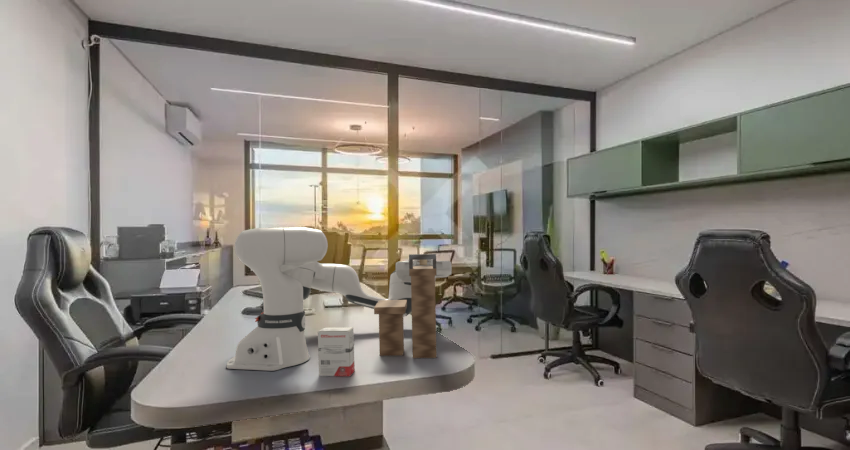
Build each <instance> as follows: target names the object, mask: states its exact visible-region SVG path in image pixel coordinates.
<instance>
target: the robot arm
mask: <svg viewBox="0 0 850 450" xmlns="http://www.w3.org/2000/svg"><path fill="white" fill-rule="evenodd" d="M235 239H236V240H235V241H234V252H235V256H236V257H237V258H238V260H239V261H240V262H241V264H243V265H245V266H246V267H248V268H249V269H250V270H251V271H253V273H254V275H255V276H256V277H257V279H258V281H259V283H260V286H261V290H262V292H261V293H262V299H263V303H262V304H263V312H261V313H260V314H259V315H257V316H256V317H255V318H254V319H255V321H254V323H257V326H256V327H255V328H253V330H251V331H250V332H249V333H248V334H246V335H245V336H244V337H243V338H242V339H240V341H238V344H237V346H236V350H235V356H233V357H232V358H230V359H229V360H227V361H226V368H227V369H229V370H230V369H233V370H253V371H272V372H273V371H279V370H281V369H284V368H288V367H293V366H297V365H301V364H303V363H305V362H307V361H309V360H310V358H311V357H310V354H309V350H308V345H307V341H306V333H305V331H306V325H307V324H306V321H307V320H306V312H305V309H304V300H306V299H308V298H309V296H310V295H311V291H312V289H314V290H318V291H322V292H327V293H337V294H340V295H341V296H344V297H345V299H346V301H348V302H349V303H351V304H354V305H357V306H361V307H364V308H368V309H372V310H374V307H375V305H376V304H377V303H378V301H379V300H407V308H406V311H405V314H403V318H404V317H407V316H409V315H410V314H412V301H411V276H409V260H408V261H397V262H395V270H394V271H392V272H391V274H390V275H389V276H390V277H389V288H388V298H382V297H378V296H374V295H372V294H371V295H370V294H367V293H366V292H365V291H364V290H363V288H362V285H361V283H360V278H359V275H358V273H357V272H356V270H355V269H354V268H353V267H352V266H350V265H348V264H341V263H320V262H319V261H322V260H323V259H324V257H325V256H326V254H327V252H328V248H329V247H328V246H329V245H328V239H327V236H326V234H325V233H324V232H323V231H322V230H321V229H317V228H312V227H306V226H298V227H294V226H293V227H292V226H291V227H289V226H288V227H287V226H285V227H284V226H283V227H255V228H251V229H245V230H242V231H241V232H240V233H239V234H238V236H237V237H236V238H235ZM413 266H433V259H427V265H420V260H413ZM452 267H453V266H452V262H451V261H450V260H436V273H437V275H435V278H448V277H449V276H451V275H452V272H453V271H452V270H453V269H452Z"/></svg>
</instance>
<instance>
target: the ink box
mask: <svg viewBox="0 0 850 450" xmlns="http://www.w3.org/2000/svg"><path fill="white" fill-rule="evenodd" d="M354 334H355V333H354V326H353V327H349V326H348V327H323V328H321V329H320V330H318V331H317V351H318V352H317V355H318V357H317V358H318V376H319V377H351V376H352V375H353V373H354V372H355V371H356V369H355V342H354V341H355V338H354V336H355V335H354Z"/></svg>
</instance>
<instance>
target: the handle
mask: <svg viewBox="0 0 850 450" xmlns="http://www.w3.org/2000/svg"><path fill="white" fill-rule="evenodd" d="M420 265H427V259H426V260H420Z"/></svg>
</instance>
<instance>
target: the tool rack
mask: <svg viewBox="0 0 850 450" xmlns="http://www.w3.org/2000/svg"><path fill="white" fill-rule="evenodd" d="M426 259H432V260H433V266H413V261H414V260H426ZM408 261H409V276H411V301H412V312H411V336H412V337H411V343H412V345H411V348H412V353H411V354H412V359H435V358H437V325H436V324H437V317H436V315H437V313H436V309H437V308H436V277H435V275H437V273H436V261H437V254H436V253H415V254H414V253H411V254H410V253H409V254H408ZM406 308H407V300H379V301H378V303H377V304H376V305H375V307H374V309H373V314H374V315H378V333H379V334H378V337H379V338H378V339H379V341H378V345H379V350H378V351H379V356H380V357H384V356H390V357H391V356H404V353H405V339H404V338H405V336H404V335H405V333H404V332H405V329H404V328H405V326H404V325H405V324H404V317H403V314H405V311H406Z"/></svg>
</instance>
